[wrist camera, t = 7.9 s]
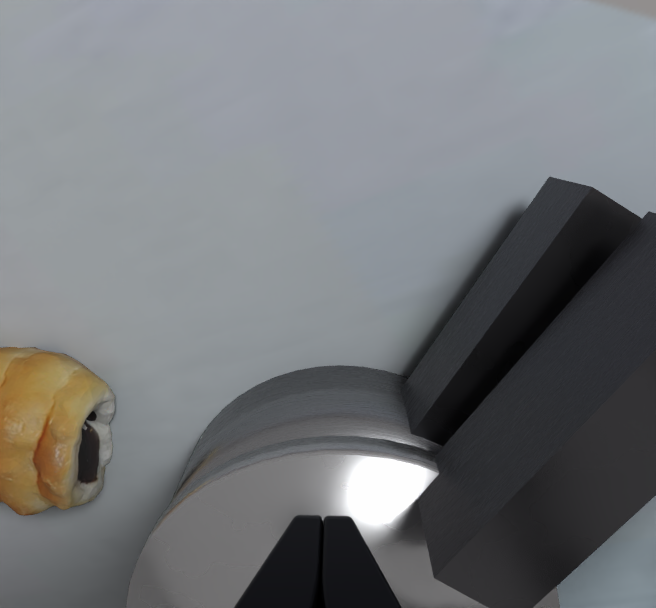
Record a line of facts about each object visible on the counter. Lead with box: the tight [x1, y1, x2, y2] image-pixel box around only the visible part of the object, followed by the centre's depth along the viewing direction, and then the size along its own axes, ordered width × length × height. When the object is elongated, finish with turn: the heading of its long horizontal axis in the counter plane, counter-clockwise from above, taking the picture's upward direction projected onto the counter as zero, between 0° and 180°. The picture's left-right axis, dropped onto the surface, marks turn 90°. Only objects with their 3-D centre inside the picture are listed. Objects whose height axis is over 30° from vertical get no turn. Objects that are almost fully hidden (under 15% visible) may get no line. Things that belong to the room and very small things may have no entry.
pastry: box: [0, 347, 115, 515], centre depth 20 cm, size 9×7×4 cm
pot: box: [170, 177, 642, 504], centre depth 20 cm, size 14×26×5 cm, turn 150°
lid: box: [126, 212, 656, 608], centre depth 15 cm, size 14×23×4 cm, turn 147°
